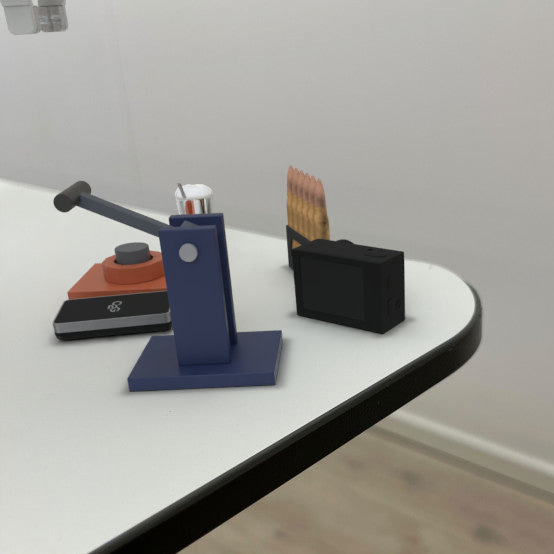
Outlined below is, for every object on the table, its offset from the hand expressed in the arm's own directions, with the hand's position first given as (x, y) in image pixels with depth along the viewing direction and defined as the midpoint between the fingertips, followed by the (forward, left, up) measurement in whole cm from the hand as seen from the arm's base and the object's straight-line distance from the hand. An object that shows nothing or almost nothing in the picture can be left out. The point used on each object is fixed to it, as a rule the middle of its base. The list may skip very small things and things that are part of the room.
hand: (41, 33), depth 56 cm
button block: (-2, +20, -27) cm, 34 cm away
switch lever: (+4, 0, -15) cm, 16 cm away
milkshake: (+3, +32, -27) cm, 42 cm away
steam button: (-2, +20, -24) cm, 31 cm away
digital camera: (+22, +10, -27) cm, 36 cm away
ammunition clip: (+17, +23, -27) cm, 40 cm away
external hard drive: (-2, +11, -27) cm, 29 cm away
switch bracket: (+9, 0, -27) cm, 29 cm away
